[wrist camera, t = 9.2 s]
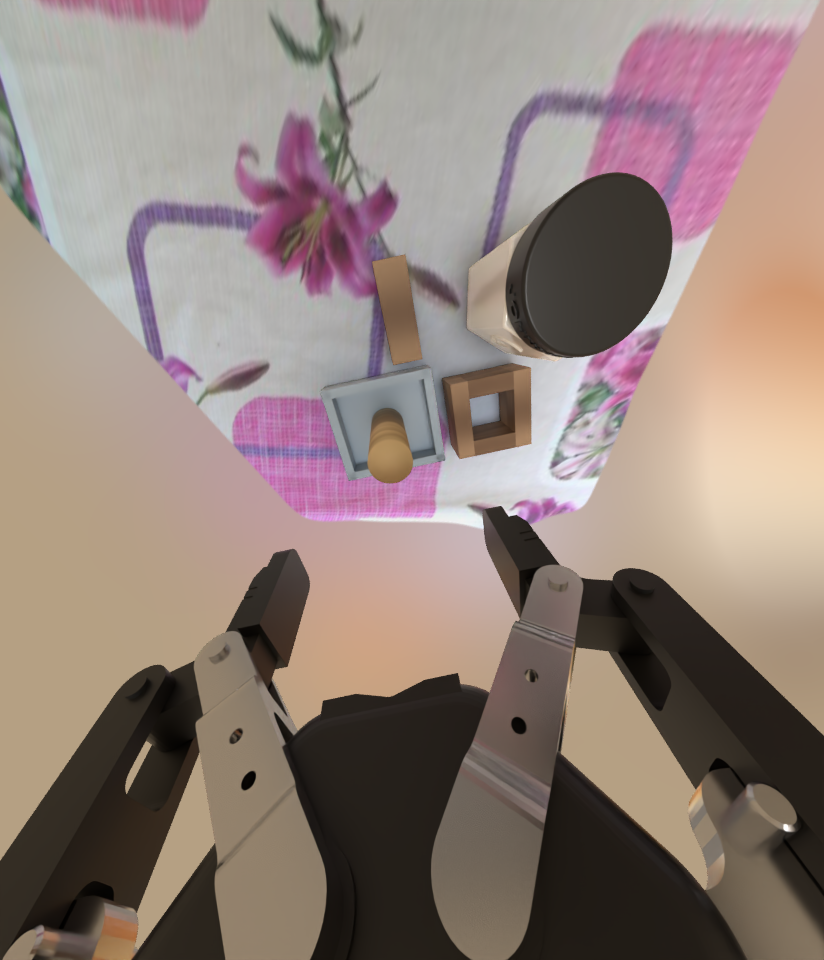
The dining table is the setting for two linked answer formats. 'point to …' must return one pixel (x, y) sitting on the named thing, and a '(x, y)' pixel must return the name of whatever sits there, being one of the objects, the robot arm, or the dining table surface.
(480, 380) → the socket block
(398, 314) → the block
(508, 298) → the jar
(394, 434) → the dowel
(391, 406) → the tray
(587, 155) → the dining table surface
